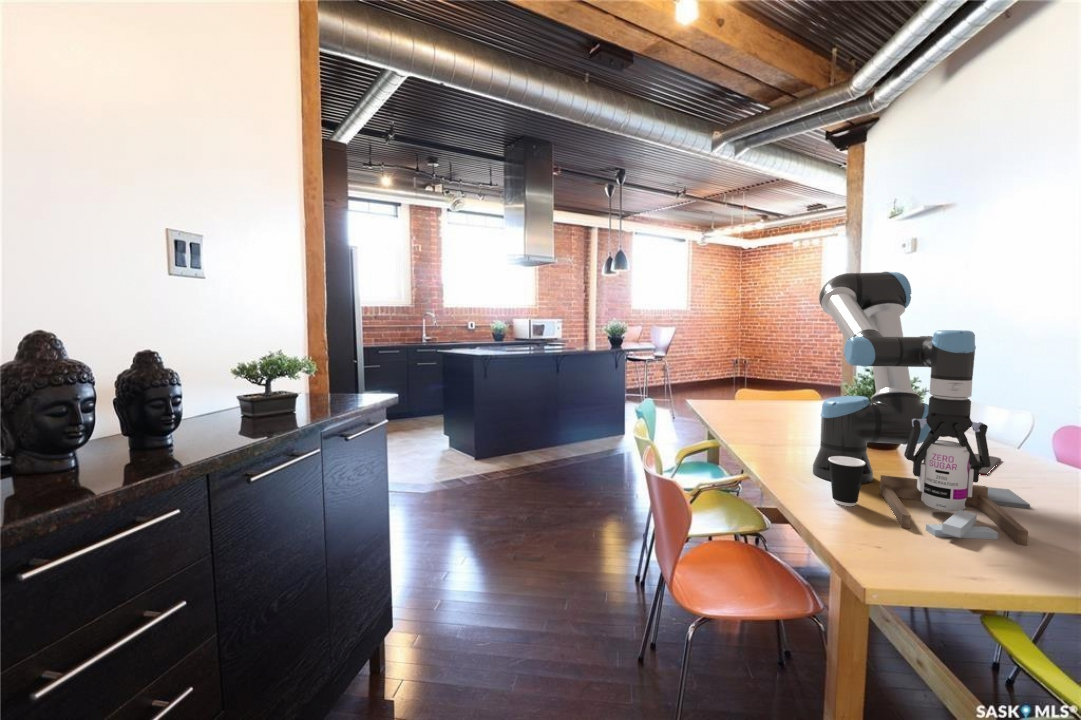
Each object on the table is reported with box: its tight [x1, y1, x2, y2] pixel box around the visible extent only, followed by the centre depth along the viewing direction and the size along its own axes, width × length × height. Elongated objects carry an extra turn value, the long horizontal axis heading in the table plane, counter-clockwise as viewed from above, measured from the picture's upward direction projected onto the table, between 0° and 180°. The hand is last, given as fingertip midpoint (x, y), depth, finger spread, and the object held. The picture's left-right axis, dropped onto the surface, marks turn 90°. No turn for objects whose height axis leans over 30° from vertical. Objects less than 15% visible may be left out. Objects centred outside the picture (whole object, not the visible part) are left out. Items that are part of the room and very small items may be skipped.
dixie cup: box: [828, 456, 866, 507], centre depth 124 cm, size 8×8×11 cm
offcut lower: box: [925, 523, 999, 540], centre depth 106 cm, size 12×3×2 cm, turn 82°
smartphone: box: [969, 453, 1002, 476], centre depth 157 cm, size 12×2×25 cm
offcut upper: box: [941, 509, 978, 538], centre depth 106 cm, size 12×3×2 cm, turn 127°
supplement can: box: [920, 439, 969, 513], centre depth 116 cm, size 8×8×15 cm
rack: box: [879, 474, 1029, 546], centre depth 116 cm, size 22×24×5 cm
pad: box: [986, 486, 1031, 509], centre depth 128 cm, size 12×12×1 cm
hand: (943, 492), depth 117 cm, fingers closed on supplement can, 8 cm apart
